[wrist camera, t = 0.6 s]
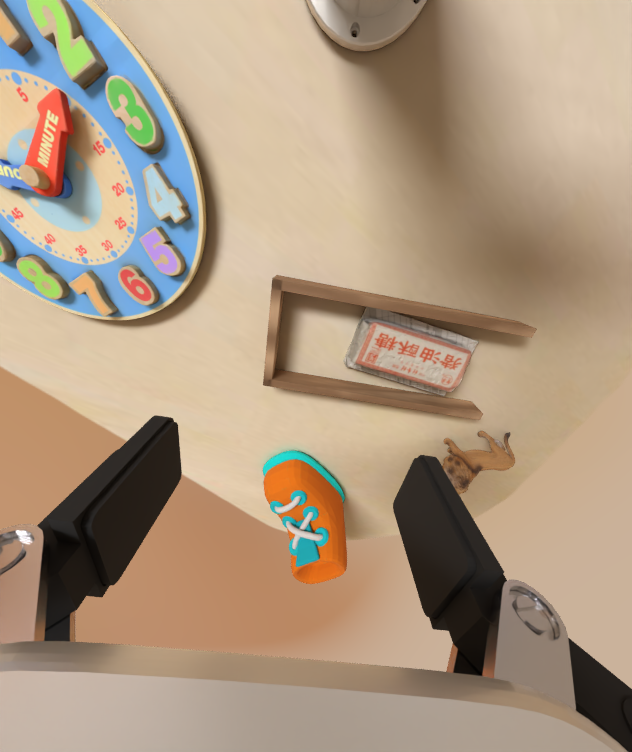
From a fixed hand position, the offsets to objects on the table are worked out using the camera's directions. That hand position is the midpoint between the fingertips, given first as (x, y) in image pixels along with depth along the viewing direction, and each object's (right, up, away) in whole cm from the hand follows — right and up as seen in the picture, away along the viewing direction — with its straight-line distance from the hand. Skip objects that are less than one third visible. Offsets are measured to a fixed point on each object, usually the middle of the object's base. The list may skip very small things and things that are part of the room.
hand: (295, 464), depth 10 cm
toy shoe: (-2, -19, +43) cm, 47 cm away
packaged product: (+15, +8, +29) cm, 33 cm away
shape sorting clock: (-27, +26, +20) cm, 42 cm away
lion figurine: (+29, -9, +37) cm, 48 cm away
